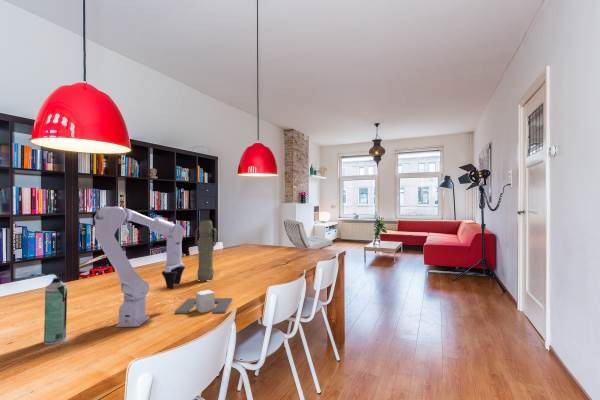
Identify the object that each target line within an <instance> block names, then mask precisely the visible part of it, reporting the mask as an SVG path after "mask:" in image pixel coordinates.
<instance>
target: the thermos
mask: <svg viewBox="0 0 600 400" xmlns="http://www.w3.org/2000/svg"><path fill="white" fill-rule="evenodd" d="M213 233H214V237H213ZM198 234H199V236H198ZM194 237H195V238H194V239H195V242H194V243H195V246H196V247H197V251H198V269H197V281H198V280H200V281H207V280H212V279H213V280H214V268H213V265H214V264H213V263H214V261H213V259H214V256H213V255H214V248H215V246H216V245H217V229H216V227H215V228H214V226H213V222H212V220H211V219H202V220H201V221H199V225H198V228H196V229H195V236H194ZM213 280H212V281H213Z"/></svg>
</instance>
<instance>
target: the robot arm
mask: <svg viewBox="0 0 600 400" xmlns="http://www.w3.org/2000/svg"><path fill="white" fill-rule="evenodd" d="M93 219H94V221H95V225H94V238H95V240H96V241H97V243H98V245H99V246H100V248H101V249H102V251H103V253H104V254H105V256H106V258H107V259H108V260H109V262H110V264H111V266H112V268H113V269H114V272H115V273H116V274H117V276H118V277H119V279H118V282H119V283H120V290H121V292H122V294H124V295H123V302H122V304H121V305H120V306H119V309H118V324H116V325H115V327H116V328H127V327H128V328H129V327H130V328H131V327H132V328H134V327H135V328H136V327H140V326H141V325H143V323H145V322H146V321H147V320H148V319H149V318H151V317H150V315H146V308H147V307H146V301H147V300H146V297H147V295H148V294H149V291H150V285H149V283H148V282H147V281H145V280H144V279H143V278H142V277H141V276H140V274H138V273H137V272H136V271H135V269H134V267H133V265H132V264H131V262H130V260H129V259H128V257H127V256H126V253H125V252H124V250H123V249H122V247H121V245H120V243H119V242H118V240H117V239H116V237H115V235H116V232H117V231H118V229H119V228H120V227H121V226H122V224H124V222H134V223H136V224H140V225H143V226H146V227H148V229H149V231H151V232H154V233H157V234H159V235H161V236H164V237H166V264H165V267H164V270H162V272H161V274H162V277H163V278H164V281H165V286H166V289H167V290H173V289H174V287H175V285H179V284H180V283H181V279H182V275H183V273H184V270H185V268H186V267H185V263H183V260H182V251H183V250H182V248H183V247H182V246H183V245H182V243H183V242H182V241H183V237H184V236H185V233H186V230H184V227H183V225H181V224H176V223H174V221H170V220H169V221H168V220H166V219H164V217H162V216H158V217H153V218H152V217H149V216H146V215H145V214H141V213H139V212H137V211H135V210H133V209H129V208H124V207H122V206H102V207H99V209H98V210H97V211H96V214H95V215H94V217H93Z"/></svg>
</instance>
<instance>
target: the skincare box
mask: <svg viewBox="0 0 600 400" xmlns="http://www.w3.org/2000/svg"><path fill="white" fill-rule="evenodd" d="M215 296H216V295H215V292H214V291H212V289H206V290H200V291H196V293H195V299H196V305H195V309H196V311H197V312H198V313H200V314H202V313H207V312H213V311H212V310H214V308H215V307H216V306H215V304H216V303H215V298H216V297H215Z"/></svg>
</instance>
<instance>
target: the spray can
mask: <svg viewBox="0 0 600 400" xmlns="http://www.w3.org/2000/svg"><path fill="white" fill-rule="evenodd" d="M67 306H68V284H67V283H65V282H63V281H62V280H61V277H60V276H59V277H54V278H52V281H51V282H50V284H48V285H46V286H45V290H44V325H43V326H44V329H43V331H44V332H43V342H44V343H43V344H44V345H45V346H53V345H57V344H61V343H63V342H65V341H66V340H67V315H68V314H67V313H68V312H67V308H68V307H67Z"/></svg>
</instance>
